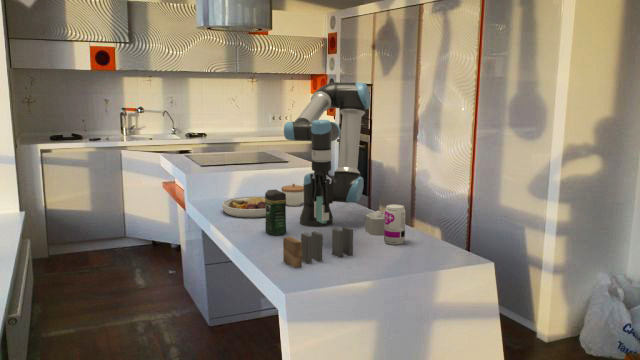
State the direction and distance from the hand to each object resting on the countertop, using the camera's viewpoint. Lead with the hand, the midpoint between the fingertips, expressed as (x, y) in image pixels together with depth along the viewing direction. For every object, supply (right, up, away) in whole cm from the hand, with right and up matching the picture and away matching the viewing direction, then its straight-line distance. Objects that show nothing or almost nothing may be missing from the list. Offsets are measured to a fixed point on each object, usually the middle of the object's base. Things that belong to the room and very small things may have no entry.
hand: (321, 218), depth 239 cm
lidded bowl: (-14, +2, +76) cm, 78 cm away
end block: (-11, -15, -21) cm, 28 cm away
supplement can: (+29, -10, +7) cm, 32 cm away
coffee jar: (-20, -8, +21) cm, 30 cm away
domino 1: (-6, -14, -18) cm, 24 cm away
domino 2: (0, -1, 0) cm, 1 cm away
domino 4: (+6, -13, -11) cm, 18 cm away
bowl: (-33, -1, +60) cm, 69 cm away
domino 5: (+10, -13, -9) cm, 18 cm away
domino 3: (-2, -14, -16) cm, 21 cm away
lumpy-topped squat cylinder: (+26, -7, +23) cm, 36 cm away
